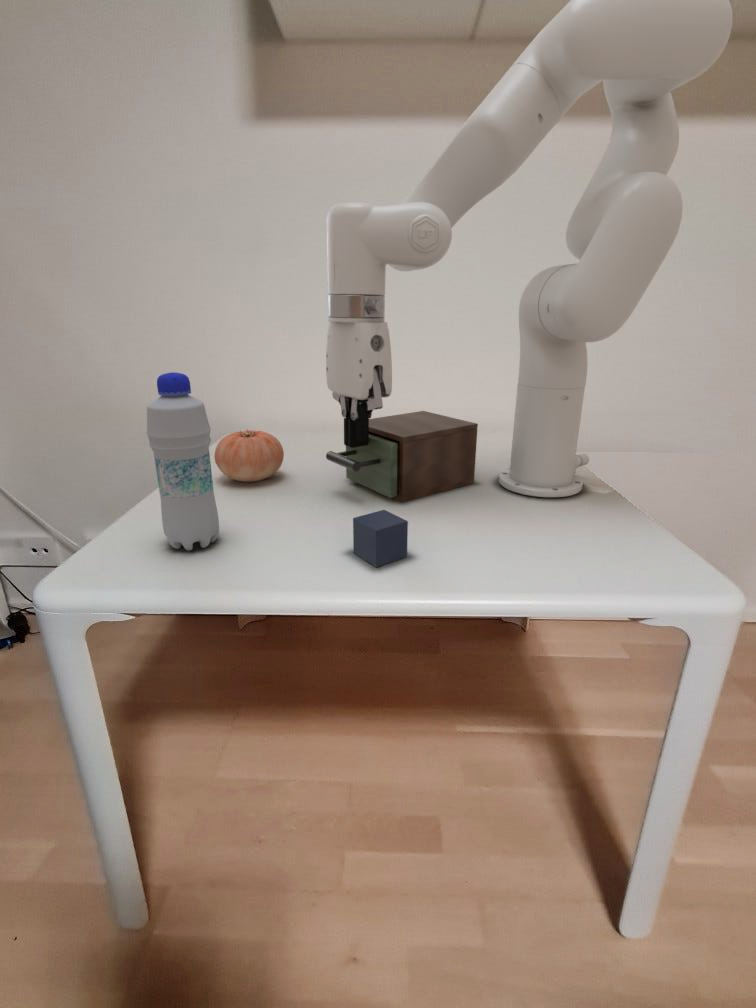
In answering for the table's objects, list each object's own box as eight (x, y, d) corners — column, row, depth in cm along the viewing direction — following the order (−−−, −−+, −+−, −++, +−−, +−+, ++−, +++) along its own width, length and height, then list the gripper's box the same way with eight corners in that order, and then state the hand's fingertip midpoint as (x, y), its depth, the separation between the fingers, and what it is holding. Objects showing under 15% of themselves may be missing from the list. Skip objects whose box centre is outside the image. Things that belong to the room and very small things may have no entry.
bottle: (201, 526, 70) (182, 367, 63) (234, 540, 66) (216, 372, 59) (152, 544, 65) (125, 373, 58) (184, 560, 61) (159, 378, 54)
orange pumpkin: (266, 492, 82) (262, 440, 79) (203, 485, 85) (197, 435, 82) (295, 471, 92) (293, 425, 89) (238, 466, 95) (234, 421, 92)
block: (383, 543, 65) (384, 509, 63) (407, 556, 62) (408, 521, 60) (353, 553, 63) (352, 517, 61) (376, 567, 59) (376, 530, 58)
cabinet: (402, 502, 78) (403, 437, 75) (353, 480, 87) (352, 421, 84) (473, 483, 86) (477, 423, 83) (421, 464, 96) (423, 410, 92)
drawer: (362, 505, 74) (361, 450, 72) (319, 483, 83) (317, 433, 80) (458, 480, 85) (461, 431, 82) (411, 463, 93) (413, 418, 90)
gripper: (414, 311, 68) (409, 453, 75) (348, 308, 79) (349, 432, 86) (365, 311, 64) (364, 461, 70) (303, 308, 75) (307, 438, 82)
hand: (356, 445), depth 78 cm, fingers closed
